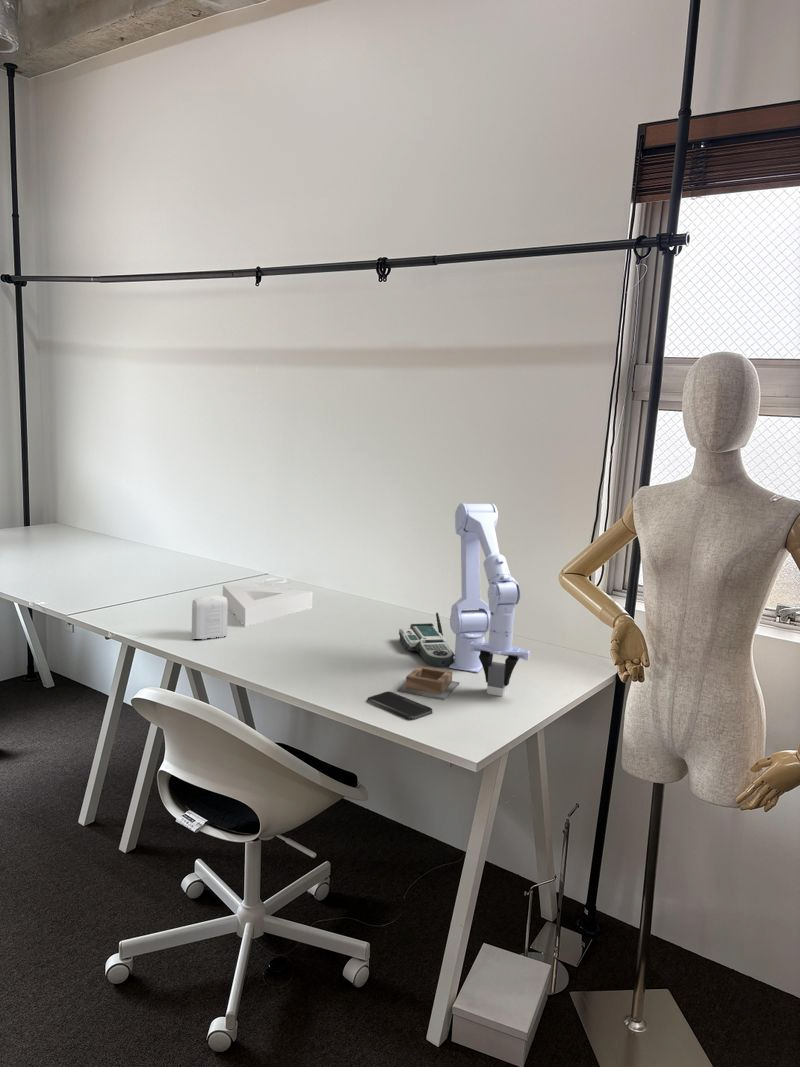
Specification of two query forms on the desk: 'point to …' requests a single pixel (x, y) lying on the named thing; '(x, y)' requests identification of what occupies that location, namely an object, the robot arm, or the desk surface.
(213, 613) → the white upright block
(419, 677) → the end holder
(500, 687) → the connector plug
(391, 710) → the phone
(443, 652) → the communication device
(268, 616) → the triangle block
